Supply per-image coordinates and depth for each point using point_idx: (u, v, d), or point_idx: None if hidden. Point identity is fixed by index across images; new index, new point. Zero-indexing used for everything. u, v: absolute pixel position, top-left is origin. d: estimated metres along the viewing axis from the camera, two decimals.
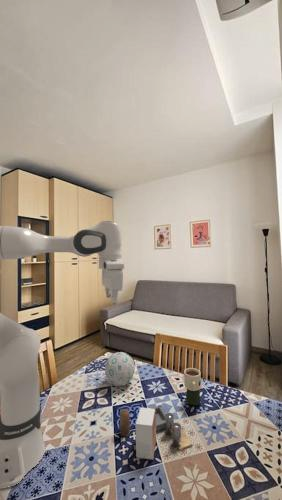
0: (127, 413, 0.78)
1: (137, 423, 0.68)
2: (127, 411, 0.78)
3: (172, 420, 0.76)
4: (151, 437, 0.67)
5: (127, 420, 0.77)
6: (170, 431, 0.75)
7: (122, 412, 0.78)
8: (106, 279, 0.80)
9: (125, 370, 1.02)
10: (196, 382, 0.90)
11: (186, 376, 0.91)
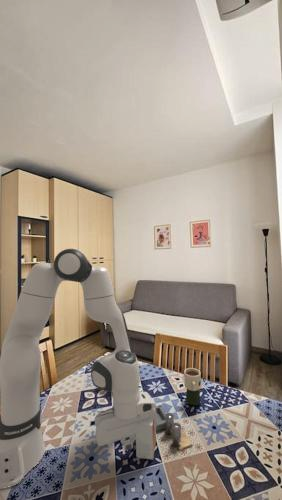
0: None
1: (137, 423, 0.68)
2: None
3: (172, 420, 0.76)
4: (151, 437, 0.67)
5: None
6: (170, 431, 0.75)
7: None
8: (130, 426, 0.68)
9: None
10: (196, 382, 0.90)
11: (186, 376, 0.91)
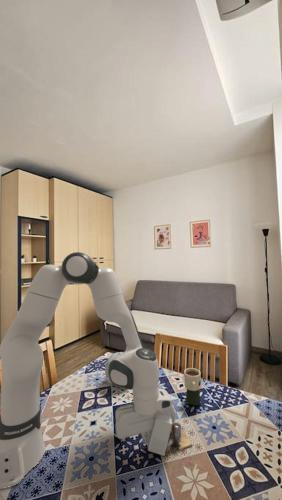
0: None
1: (157, 419, 0.69)
2: None
3: None
4: (168, 435, 0.68)
5: None
6: None
7: None
8: (149, 421, 0.70)
9: None
10: (196, 382, 0.90)
11: (186, 376, 0.91)
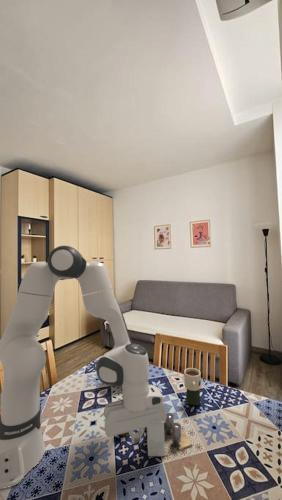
0: None
1: None
2: None
3: (172, 420, 0.76)
4: (163, 434, 0.68)
5: None
6: (170, 431, 0.75)
7: None
8: (139, 418, 0.68)
9: None
10: (196, 382, 0.90)
11: (186, 376, 0.91)
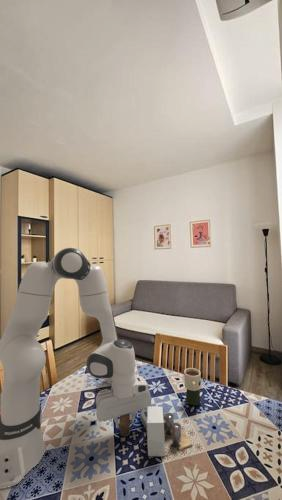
0: None
1: (148, 422, 0.69)
2: None
3: (172, 420, 0.76)
4: (163, 434, 0.68)
5: (127, 420, 0.77)
6: (170, 431, 0.75)
7: None
8: (127, 405, 0.77)
9: None
10: (196, 382, 0.90)
11: (186, 376, 0.91)
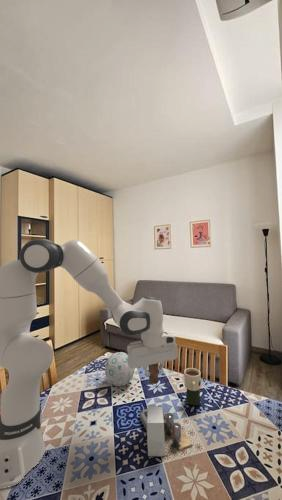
0: None
1: (148, 422, 0.69)
2: None
3: (172, 420, 0.76)
4: (163, 434, 0.68)
5: (156, 369, 0.81)
6: (170, 431, 0.75)
7: None
8: (156, 355, 0.81)
9: (125, 370, 1.02)
10: (196, 382, 0.90)
11: (186, 376, 0.91)
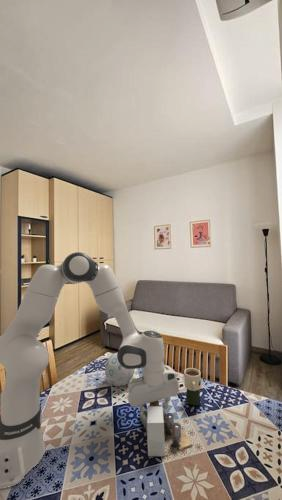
0: (157, 402, 0.82)
1: (148, 422, 0.69)
2: (157, 401, 0.83)
3: (172, 420, 0.76)
4: (163, 434, 0.68)
5: None
6: (170, 431, 0.75)
7: (151, 402, 0.82)
8: (157, 392, 0.81)
9: (125, 370, 1.02)
10: (196, 382, 0.90)
11: (186, 376, 0.91)
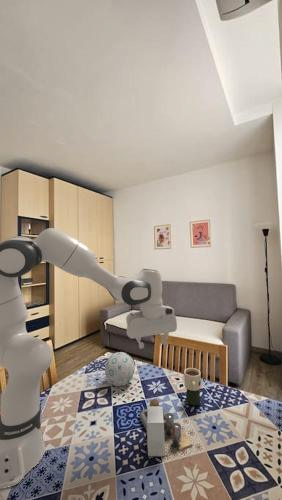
0: (157, 402, 0.82)
1: (148, 422, 0.69)
2: (157, 401, 0.83)
3: (172, 420, 0.76)
4: (163, 434, 0.68)
5: None
6: (170, 431, 0.75)
7: (152, 402, 0.82)
8: (155, 326, 0.82)
9: (125, 370, 1.02)
10: (196, 382, 0.90)
11: (186, 376, 0.91)
